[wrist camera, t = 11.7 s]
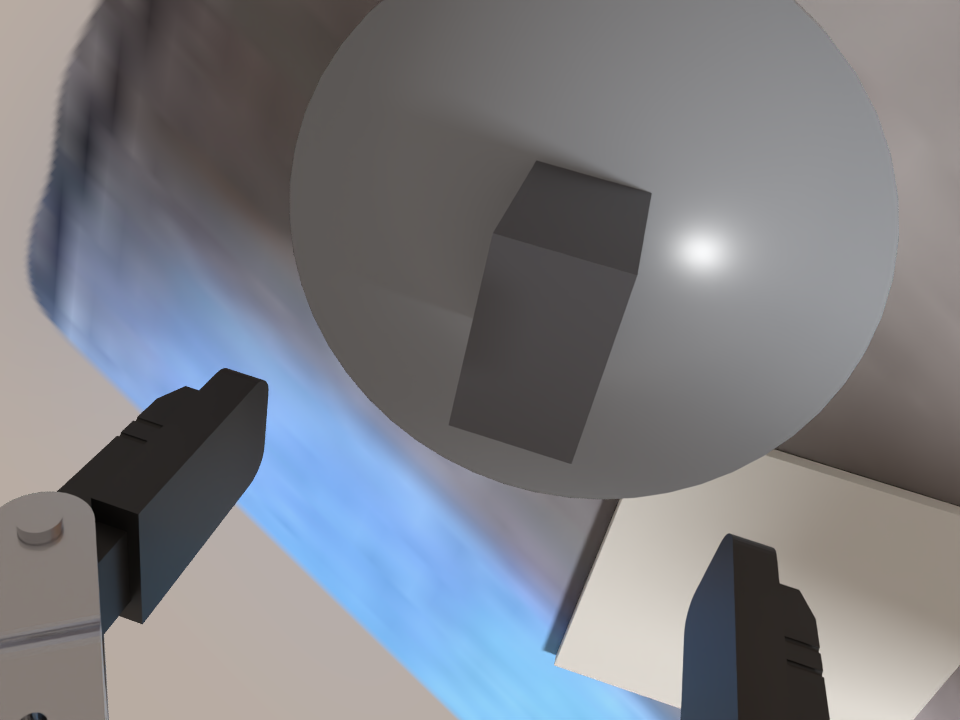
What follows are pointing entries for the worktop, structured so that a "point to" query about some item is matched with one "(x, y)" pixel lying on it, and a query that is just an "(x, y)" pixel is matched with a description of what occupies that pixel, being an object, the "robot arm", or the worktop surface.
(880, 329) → the worktop surface
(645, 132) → the lid
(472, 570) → the worktop surface
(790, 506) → the mat
